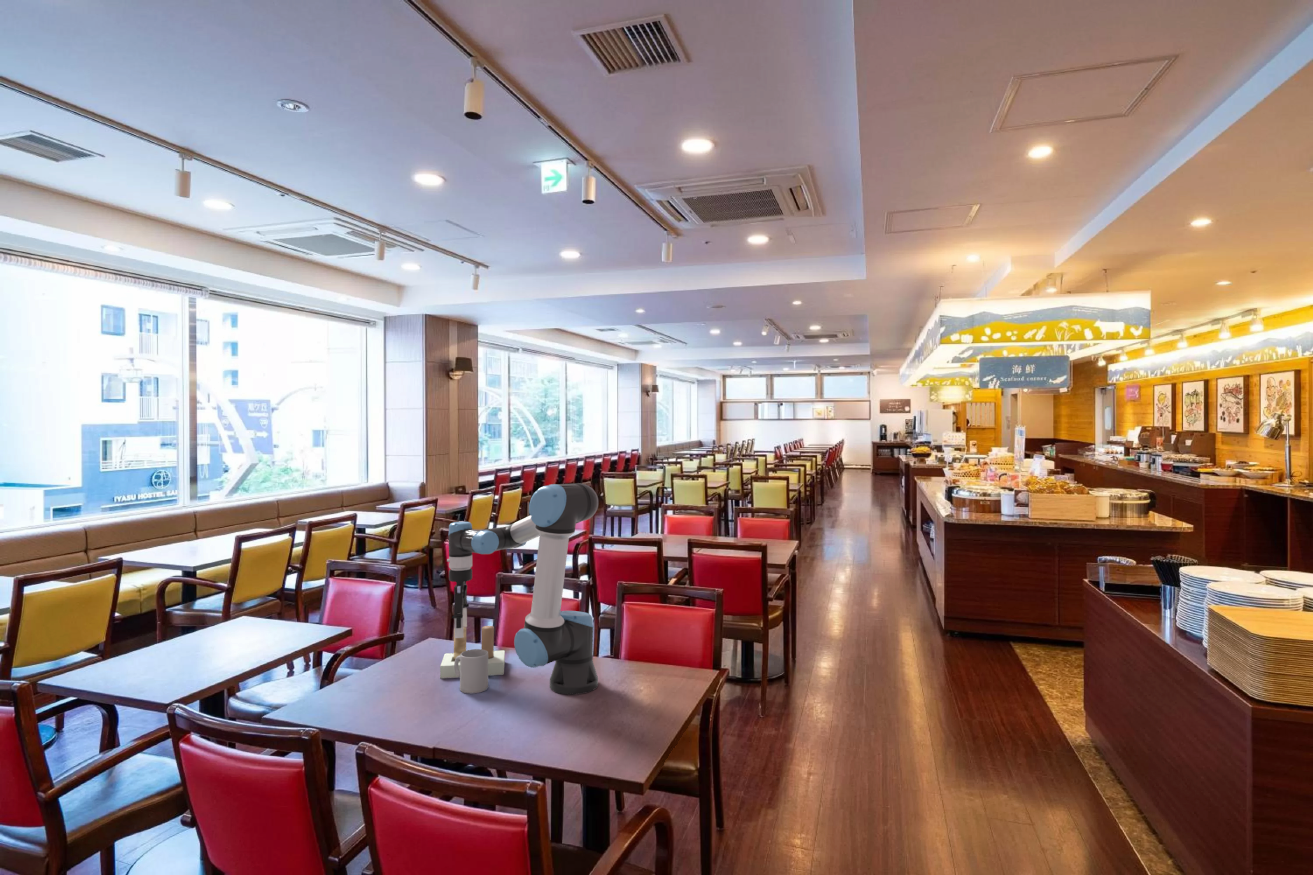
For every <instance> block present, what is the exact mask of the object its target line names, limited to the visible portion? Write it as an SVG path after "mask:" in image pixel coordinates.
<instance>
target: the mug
mask: <svg viewBox="0 0 1313 875" xmlns="http://www.w3.org/2000/svg"><path fill="white" fill-rule="evenodd" d="M459 660H460V671H459V668H458V663H459ZM454 670H455V674H456V675H457V676H458V677H457V678H459V690H460V692H461V693H463V694H479V693H482V692H485V691H486V690H488V688H489V676H488V651H486V650H482V649H481V648H475V649H466V651H464V652H462V653H461V654H460V656H457V657H456V659H455V663H454Z"/></svg>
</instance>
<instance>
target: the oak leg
mask: <svg viewBox="0 0 1313 875" xmlns="http://www.w3.org/2000/svg"><path fill="white" fill-rule="evenodd" d="M464 651H467V627H463V638H455V628H454V629H453V653H454V661H455V659H456V657H457V656H460V654H461V653H462V652H464ZM459 661H460V660H459Z"/></svg>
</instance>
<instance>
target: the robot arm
mask: <svg viewBox="0 0 1313 875" xmlns="http://www.w3.org/2000/svg"><path fill="white" fill-rule="evenodd" d="M598 508H599V497H598V495H597V493H596V491H595V490H594V489H593V488H592V487H591V486H589V485H588V484H585V483H581V482H580V483H579V482H577V483H560V484H554V483H553V484H548V485H544V486H541V487H539V488H538V489H537V490H536V491H535V492H533V494H532V496H531V498H530V501H529V505H528V513H529V515H528V516H526V517H524V518H522V519H520V520H518V521H516V522H514V523H511V524H509V525H507V526H501V527H494V528H486V529H474V528H473V523H471V522H470V521H454V522H451V523H450V524H449V525H448V558H447V559H446V562H448V568H449V570H448V580H449V582H452V583H453V582H455V585H454V587H453V593H454V595H453V597H454V607H453V608H454V609H453V610H454V612H453V615H452V616H451V618H452V619H453V620H454V629H455V638H463V627H465V628H467V627H468V609H467V608H468V607H469V606H470V604H469V603H468V598H467V595H468V593H467V592H468V584H467V582H469V581H471V580H472V579H473V569H472V567H473V553H474V554H480V555H491V554H493V553H494V552H497V551H501V550H508V549H517V548H520V547H524V546H526V544H527V542H529V541H532V540H534V539H536V538H538V537H539V538H538V547H537V557H536V563H535V564H536V565H535V575H534V585H533V592H532V599H531V601H532V602H531V610H530V613H528V614H527V615H526V616H525V617H524V618H525V619H524V627H523V628H520V629H519V630H518V631H517V632H516V633H515V636H514V641H513V644H514V650H515V653H516V655H517V656H518V659H519V660H520V661H521V663H522V664H523V665H525V666H527V667H529V668H538V667H544V666H546V665H547V664H550V663H553V662H555V663H554V665H553V668H552V672H551V674H550V678H549V688H550V690H551V691H552V692H554V693H558V694H562V695H581V694H586V693H590V692H593V691H594V690H596V689H597V688H598V686H599V677H598V673H597V670H596V667H595V664H594V661H593V658H594V655H593V654H594V650H593V649H594V620H593V616H592V615H591V613H588V612H585V611H584V612H583V611H576V610H561V608H562V600H563V592H564V584H565V573H566V566H567V559H568V558H567V557H568V550H569V549H568V547H569V540H570V537H571V536H572V535H573V534H575V532H576V525H577V524H579V523H581V522H585V521H587V520H589V519H591V518H592V517H594V515H595V514H596V512H597V511H598Z"/></svg>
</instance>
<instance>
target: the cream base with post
mask: <svg viewBox="0 0 1313 875" xmlns="http://www.w3.org/2000/svg"><path fill="white" fill-rule="evenodd" d="M494 634H495V627H494V625H484V626H482V627H481V644H480V645H481V647H480V649H482V650H486V651H488V677H489V676H502V675H504V673H505V660H506V659H505V658H506V654H505V653H506V652H505V650H494V648H495V647H494V645H495V644H494V643H495V641H494V640H495V639H494V638H495V636H494ZM454 663H455V661H454V652H453V653H452V652H450V653H448V652H447V653H444V655H443V658H442V660H441V663H440V666H439V668H440V669H439V679H454V678H455V679H456V678H459V677H458V676H457V675H456V674H455V670H454ZM458 668H459V671H460V661H459V663H458Z"/></svg>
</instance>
